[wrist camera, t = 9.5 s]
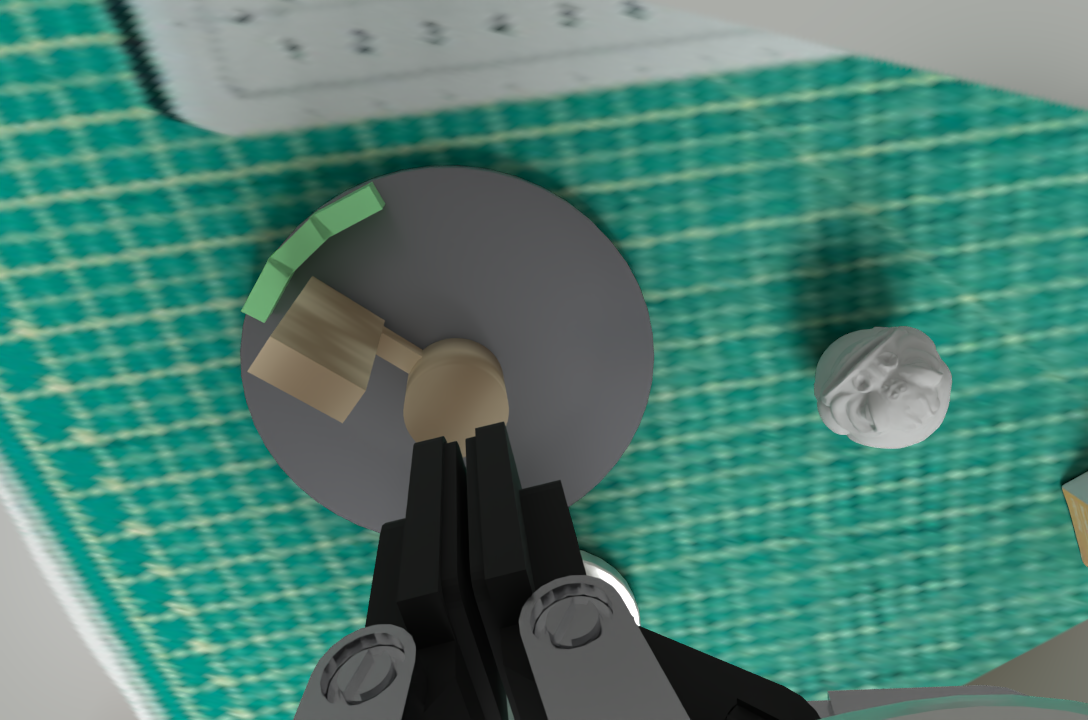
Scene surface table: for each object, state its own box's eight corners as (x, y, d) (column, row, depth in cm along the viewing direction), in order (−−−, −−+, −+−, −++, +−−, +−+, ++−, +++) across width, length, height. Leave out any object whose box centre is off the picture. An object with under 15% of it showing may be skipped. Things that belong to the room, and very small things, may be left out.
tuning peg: (522, 370, 30) (541, 448, 24) (468, 439, 31) (472, 532, 25) (330, 248, 27) (292, 300, 21) (277, 330, 28) (226, 404, 22)
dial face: (571, 556, 37) (579, 586, 35) (218, 488, 32) (201, 518, 30) (707, 240, 31) (727, 253, 28) (291, 100, 26) (276, 102, 24)
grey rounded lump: (846, 271, 32) (942, 319, 26) (920, 354, 35) (1025, 416, 28) (755, 359, 34) (826, 425, 27) (833, 432, 36) (915, 508, 30)
